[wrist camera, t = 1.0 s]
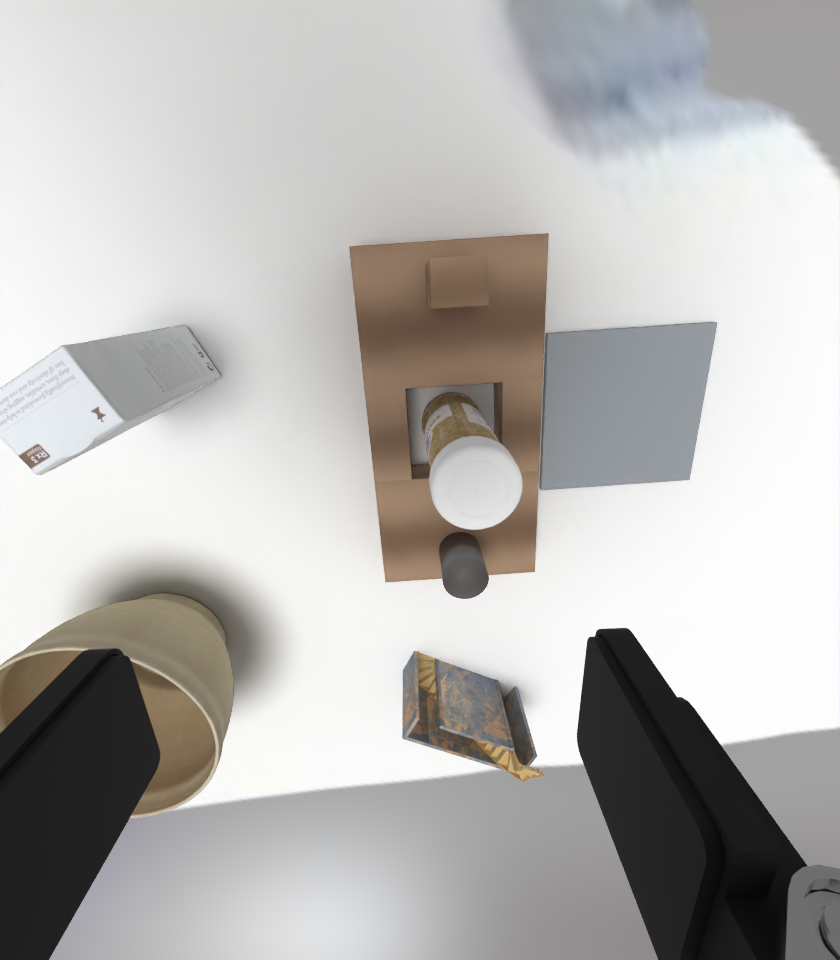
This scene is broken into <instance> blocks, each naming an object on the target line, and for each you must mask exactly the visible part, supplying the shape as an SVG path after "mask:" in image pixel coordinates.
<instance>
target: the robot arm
mask: <svg viewBox="0 0 840 960" xmlns="http://www.w3.org/2000/svg"><path fill="white" fill-rule="evenodd" d="M577 742H578V748H579V752H580V755H581V758H582V760H583V763H584V766H585V768H586V771H587V773H588V776H589V779H590V781H591V784H592V787H593V789H594V792H595V795H596V797H597V800H598V802H599V805H600V808H601V810H602V813H603V816H604V818H605V821H606V823H607V826H608V829H609V831H610V834H611V837H612V839H613V842H614V844H615V847H616V850H617V852H618V855H619V858H620V860H621V863H622V865H623V868H624V871H625V873H626V876H627V878H628V881H629V884H630V886H631V889H632V892H633V894H634V897H635V899H636V902H637V905H638V907H639V910H640V913H641V915H642V918H643V921H644V923H645V926H646V929H647V931H648V934H649V936H650V939H651V942H652V944H653V947H654V950H655V952H656V955H657V957H658V960H840V869H838V868H832V867H827V866H822V865H814V866H807V865H806V864H805V862H804V861H803V859H802V858H801V856H800V855H799V854H798V852H797V851H796V850H795V848H794V847H793V845H792V844H791V843H790V841H789V840H788V838H787V837H786V836H785V834H784V833H783V832H782V830H781V829H780V827H779V826H778V824H777V823H776V822H775V820H774V819H773V817H772V816H771V815H770V814H769V812H768V810H767V809H766V808H765V806H764V805H763V804H762V802H761V801H760V799H759V798H758V797H757V795H756V794H755V793H754V791H753V790H752V788H751V787H750V785H749V784H748V783H747V781H746V780H745V779H744V777H743V776H742V774H741V773H740V772H739V770H738V769H737V767H736V766H735V765H734V763H733V762H732V761H731V759H730V758H729V756H728V755H727V753H726V752H725V751H724V749H723V748H722V746H721V745H720V744H719V742H718V741H717V739H716V738H715V737H714V735H713V734H712V732H711V731H710V730H709V728H708V727H707V726H706V724H705V723H704V721H703V720H702V719H701V717H700V716H699V714H698V713H697V712H696V710H695V709H694V708H693V707H692V705H691V704H690V703H689V702H688V701H687V700H685V699H683V698H681V697H676V695H675V694H674V692H673V691H672V689H671V688H670V687H669V685H668V684H667V682H666V681H665V679H664V678H663V676H662V675H661V674H660V672H659V671H658V669H657V668H656V666H655V665H654V664H653V662H652V661H651V659H650V658H649V656H648V655H647V653H646V652H645V651H644V649H643V648H642V646H641V645H640V643H639V642H638V640H637V639H636V638H635V636H634V635H633V633H632V632H631V631H630V630H629V629H627V628H616V629H599V630H597V632H596V635H595V637H589V638H588V641H587V649H586V658H585V667H584V676H583V685H582V694H581V703H580V712H579V721H578V730H577ZM159 762H160V749H159V745H158V742H157V739H156V736H155V733H154V730H153V727H152V724H151V721H150V718H149V715H148V712H147V708H146V705H145V702H144V699H143V696H142V693H141V690H140V687H139V684H138V681H137V678H136V675H135V671H134V668H133V665H132V662H131V660H130V658H129V657H128V656H125V655H124V654H123V652H122V651H121V650H120V649H117V648H107V649H88V650H85V651H83V652H82V653H80V654H79V655H78V656H77V657H76V658H75V659H74V660H73V661H72V662H71V663H70V664H69V665H68V666H67V667H66V668H65V669H64V670H63V671H62V672H61V673H60V674H59V675H58V676H57V677H56V678H55V679H54V680H53V681H52V682H51V683H50V684H49V685H48V686H47V687H46V688H45V689H44V690H43V691H42V692H41V693H40V694H39V695H38V696H37V697H36V698H35V699H34V700H33V701H32V702H31V703H30V704H29V705H28V706H27V707H26V708H25V709H24V710H23V711H22V712H21V713H20V714H19V715H18V716H17V717H16V718H15V719H14V720H13V721H12V722H11V723H10V724H9V725H8V726H7V727H6V728H5V729H4V730H3V731H2V732H1V733H0V960H49V958H50V957H51V955H52V953H53V951H54V950H55V948H56V946H57V944H58V943H59V941H60V939H61V937H62V936H63V934H64V932H65V930H66V929H67V927H68V925H69V923H70V922H71V920H72V918H73V916H74V915H75V913H76V911H77V909H78V908H79V906H80V904H81V902H82V900H83V899H84V897H85V895H86V894H87V892H88V890H89V888H90V887H91V885H92V883H93V881H94V880H95V878H96V876H97V874H98V873H99V871H100V869H101V867H102V865H103V864H104V862H105V860H106V859H107V857H108V855H109V853H110V852H111V850H112V848H113V846H114V844H115V843H116V841H117V839H118V837H119V836H120V834H121V832H122V830H123V829H124V827H125V825H126V823H127V822H128V820H129V818H130V816H131V815H132V813H133V811H134V809H135V808H136V806H137V804H138V802H139V801H140V799H141V797H142V795H143V794H144V792H145V790H146V788H147V787H148V785H149V783H150V781H151V780H152V778H153V776H154V774H155V773H156V770H157V768H158V765H159Z"/></svg>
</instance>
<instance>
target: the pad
mask: <svg viewBox="0 0 840 960" xmlns="http://www.w3.org/2000/svg"><path fill="white" fill-rule="evenodd" d="M716 327H717V323H716V322H709V323H694V324H680V325H665V326H650V327H635V328H620V329H605V330H591V331H576V332H561V333H546V344H545V368H544V392H543V416H542V440H541V464H540V489H541V490H551V489H566V488H580V487H594V486H609V485H623V484H638V483H652V482H666V481H681V480H689V479H690V474H691V468H692V462H693V457H694V451H695V445H696V440H697V434H698V429H699V423H700V417H701V412H702V406H703V400H704V395H705V389H706V383H707V378H708V372H709V366H710V361H711V355H712V350H713V344H714V338H715V333H716Z"/></svg>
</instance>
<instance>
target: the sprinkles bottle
mask: <svg viewBox="0 0 840 960" xmlns="http://www.w3.org/2000/svg"><path fill="white" fill-rule="evenodd" d="M422 429H423V433H424V435H425V443H426V448H427V455H428V460H429V464H430V468H431V470H430V475H429V482H430V490H431V496H432V500H433V503H434V505H435V507H436V509H437V511H438V512H439V513H440V515H441V516H442V517H443V518H444V519H445V520H447V521H448V522H450V523H451V524H453V525H455V526H457V527H460V528H464V529H470V530H479V529H485V528H489V527H492V526H494V525H497V524H499V523H500V522H502V521H503V520H505V519H506V518H507V517H508V516H509V515H510V514H511V513H512V512H513V511H514V509H515V508H516V506H517V505H518V503H519V500H520V498H521V494H522V488H523V482H522V476H521V472H520V470H519V467H518V465H517V464H516V462H515V460H514V458H513V457H512V455H511V454H510V452H509V451H508V450H507V449H506V448H505V447H504V446H503V445H502V444H500V443H499V441H498V439H497V437H496V436H495V434H494V433H493V431H492V430H491V428H490V427H489V425H488V424H487V422H486V421H485V419H484V418H483V416H482V415H481V414H480V412H479V411H478V408H477V406H476V405H475V404H474V403H473V402H472V401H471V400H470V399H469V398H467V397H465V396H463V395H461V394H455V393H446V394H443V395H441V396H438V397H437V398H436V399H434V400H433V401H431V402H430V403H429V405H428V406H427V408H426V409H425V411H424V414H423V418H422Z"/></svg>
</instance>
